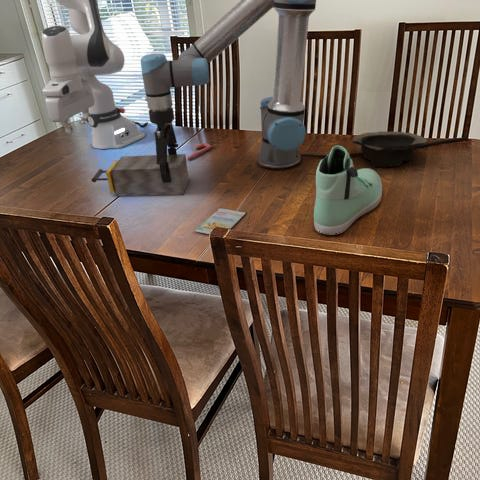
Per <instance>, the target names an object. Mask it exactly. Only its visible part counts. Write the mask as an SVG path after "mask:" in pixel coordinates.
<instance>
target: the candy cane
mask: <svg viewBox="0 0 480 480" xmlns="http://www.w3.org/2000/svg"><path fill="white" fill-rule="evenodd" d="M201 148H202V149H201ZM195 149H196V150H198V151H196V152H194V153H192V154H190V155H187V156H186V160H188V161H191V160H193V159H195V158H197V157H198V156H200V155H202V154H204V153H205V152H208V151H209V150H210V149H212V145H211V144H209V143H199V144H197V145H196V146H195ZM199 149H200V150H199Z"/></svg>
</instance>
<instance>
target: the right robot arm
mask: <svg viewBox="0 0 480 480" xmlns="http://www.w3.org/2000/svg"><path fill="white" fill-rule="evenodd" d="M316 5H317V0H240V1H239V2H237V4H235V6H233V7H232V8H231V9H230V10H229V11H228V12H226V14H225V15H223V16H222V17H221V18H220V19H219V20H218V21H217V22H216V23H214V24H213V25H212V26H211V27H210V28H209V29H208V30H207V31H206V32H205V33H203V34H202V35H201V36H200V37H199V38H198V39H197V40H196V41H195V42H193V44H191V45H190V47H188V48H187V49H184V50H183V51H182V52H181V53H180V54H179V56H178V58H177V59H175V60H168V59H167V57H166V55H165V54H164V53H157V52H156V53H148V54H144V55H143V56H142V57H141V58H140V69H141V77H142V81H143V87H144V92H145V98H144V101H145V102H146V103H147V108H148V116H149V121H150V123H151V124H154V125H156V129H155V131H154V132H153V133H154V140H155V155H156V157H157V162H156V164H159V165H160V171H161V177H162V183H167V182H171V177H170V170H169V164H168V162H167V155H174V154H178V153H177V148H179V144H178V141H177V137H176V134H175V129H174V125H173V121H174V120H175V113H174V108H173V106H174V104H173V97H172V92H171V88H182V87H183V88H184V87H199V86H204V85H208V84H209V82H210V74H209V64H210V63H211V62H212V61H214V60H215V59H216V58H217V57H218V56H219V55H220V54H222V52H224V51H225V50H226V49H227V48H228V47H229V46H230V45H232V44H233V43H234V42H235V41H236V40H237V39H239V38H240V37H241V36H242V35H243V34H244V33H246V32H247V31H248V30H249V29H251V27H252V26H254V25H255V24H256V23H257V22H259V20H260V19H261V18H263V17H264V16H265V15H266V14H267V13H268V12H270V10H272V9H274V10H275V11H276V13H277V15H278V22H277V35H276V48H275V49H276V50H275V64H274V78H273V79H274V80H273V93H272V94H273V95H272V96H269V97H264V98H263V99H261V100H260V107H259V109H260V123H261V124H260V125H261V145H260V148H259V150H258V156H257V163H258V165H259V166H260V167H261V168H263V169H267V170H272V171H282V170H288V169H293V168H295V167H297V166H299V165H300V164H301V161H302V158H325V157H326V156H327V155H329V154H330V153H329V154H314V153H312V154H311V153H310V154H309V153H300V150H299V147H301V145H302V144H304V141H305V139H306V136H307V135H306V133H307V132H306V125H305V124H304V122H305V114H306V113H305V112H306V105H305V104H304V103H303V102H302V92H303V84H304V83H303V80H304V72H305V61H306V51H307V42H308V32H309V31H308V30H309V22H310V16H311V15H312V13H313V12H315V11H316ZM468 139H469V137H468V136H463V137H462V136H461V137H452V138H447V139H446V138H445V139H441V140H436V141H430V142H426V143H424V144H422V145H420V146H417V147H414V149H418V148H423V147H428V146H432V145H439V144H444V143H450V142H457V141H465V140H467V141H468ZM348 153H349V156H350V157H360V156H361V157H362V156H365V155H364V154H363V153H362V152H351V153H350V152H348Z"/></svg>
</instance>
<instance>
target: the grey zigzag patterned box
mask: <svg viewBox="0 0 480 480" xmlns="http://www.w3.org/2000/svg"><path fill="white" fill-rule="evenodd" d="M118 160H119V161H118V162H117V163H116V165H115V166H114V167H113V168H112V170H111V171H112V176H113V180H114V184H115V189H116V191H115V194H116V197H118V198H119V197H150V196H155V197H156V196H183V195H184V193H185V190H186V188H187V185H188V184H189V180H190V178H189V171H188V163H187V156H186V153H177V154H174V155H168V154H167V162H168V164H169V170H170V177H171V182H167V183H162V177H161V171H160V165H159V164H156V162H157V157H156V154H154V155H153V154H152V155H151V154H150V155H148V154H147V155H124V156H123V155H122V156H120V157H119V159H118Z"/></svg>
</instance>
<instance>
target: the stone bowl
mask: <svg viewBox="0 0 480 480" xmlns="http://www.w3.org/2000/svg"><path fill="white" fill-rule="evenodd" d="M351 143H353V144H355V145H358V146H360V149H361V153H363V154H364V155H363V156H364V157H365V158H366V159H367V160H370V161H371V166H373V167H376V168H377V167H380V168H389V167H397V166H400V165H402V162H403V161H404V162H408V161H409V162H410V161H412V160H413V157H414V153H415V148H414V147H417V146H420V145H422V144H425V143H429V140H428V139H427V138H425V137H423V136H421V135H418V134H415V133H412V132H404V131H376V132H375V131H374V132H373V131H372V132H364V133H362V134H356V135H355V136H353V137H352V141H351Z"/></svg>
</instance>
